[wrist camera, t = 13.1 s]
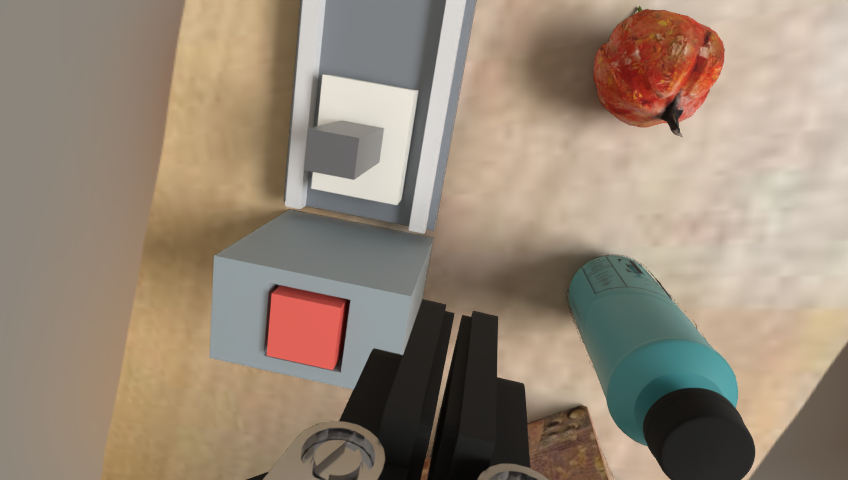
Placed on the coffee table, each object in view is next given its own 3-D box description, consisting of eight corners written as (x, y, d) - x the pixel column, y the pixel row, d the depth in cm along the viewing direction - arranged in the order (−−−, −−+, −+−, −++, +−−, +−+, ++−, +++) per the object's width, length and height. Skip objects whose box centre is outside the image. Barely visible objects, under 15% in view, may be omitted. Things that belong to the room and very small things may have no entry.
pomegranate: (572, 42, 38) (583, 162, 34) (606, -44, 31) (624, 94, 27) (673, 45, 38) (695, 165, 34) (730, -41, 31) (764, 98, 27)
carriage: (331, 74, 37) (282, 71, 28) (418, 90, 36) (396, 91, 28) (319, 183, 39) (271, 210, 30) (401, 199, 38) (376, 231, 30)
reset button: (296, 270, 34) (271, 293, 30) (357, 282, 33) (340, 307, 30) (290, 326, 35) (266, 355, 31) (350, 339, 35) (332, 370, 31)
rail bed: (318, -115, 35) (304, -131, 32) (492, -89, 34) (492, -103, 31) (290, 197, 41) (277, 204, 39) (435, 225, 41) (431, 235, 38)
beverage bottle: (554, 314, 41) (608, 506, 22) (573, 236, 39) (650, 377, 20) (635, 329, 41) (761, 540, 22) (659, 252, 39) (820, 410, 20)
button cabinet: (289, 209, 42) (213, 255, 30) (433, 237, 41) (411, 296, 29) (282, 287, 44) (209, 357, 32) (419, 315, 43) (393, 398, 32)
